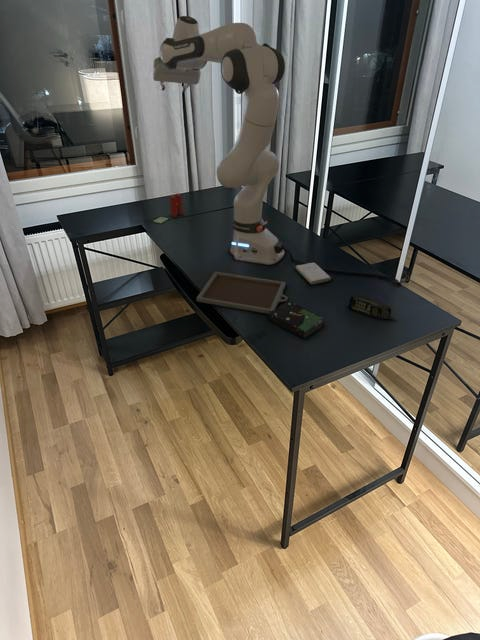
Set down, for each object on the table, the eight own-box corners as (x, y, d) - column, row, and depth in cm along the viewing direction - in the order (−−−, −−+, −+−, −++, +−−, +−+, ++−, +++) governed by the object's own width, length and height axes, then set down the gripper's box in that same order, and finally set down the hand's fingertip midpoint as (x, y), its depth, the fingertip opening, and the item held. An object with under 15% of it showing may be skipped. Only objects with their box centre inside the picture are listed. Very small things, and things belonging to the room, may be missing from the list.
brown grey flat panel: (214, 271, 162) (293, 283, 155) (214, 275, 163) (292, 287, 156) (195, 298, 148) (281, 312, 140) (196, 301, 148) (281, 316, 141)
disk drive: (268, 320, 140) (305, 339, 132) (268, 313, 138) (305, 332, 130) (287, 307, 146) (324, 324, 138) (288, 300, 144) (325, 317, 136)
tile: (168, 218, 206) (168, 218, 206) (160, 223, 202) (160, 223, 202) (160, 216, 208) (160, 216, 208) (152, 221, 204) (152, 221, 204)
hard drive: (310, 285, 157) (295, 269, 167) (330, 280, 160) (314, 265, 169) (311, 281, 156) (295, 265, 166) (331, 277, 159) (314, 261, 168)
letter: (182, 214, 210) (181, 194, 204) (174, 217, 208) (172, 197, 202) (179, 213, 212) (177, 193, 206) (171, 215, 209) (169, 195, 203)
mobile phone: (349, 296, 142) (394, 310, 135) (352, 292, 144) (397, 305, 137) (347, 309, 145) (392, 323, 138) (351, 305, 147) (394, 318, 140)
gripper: (156, 61, 168) (151, 93, 180) (204, 67, 177) (196, 96, 189) (152, 51, 171) (147, 83, 182) (200, 57, 180) (192, 87, 191)
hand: (172, 90), depth 185 cm, fingers open, 8 cm apart
